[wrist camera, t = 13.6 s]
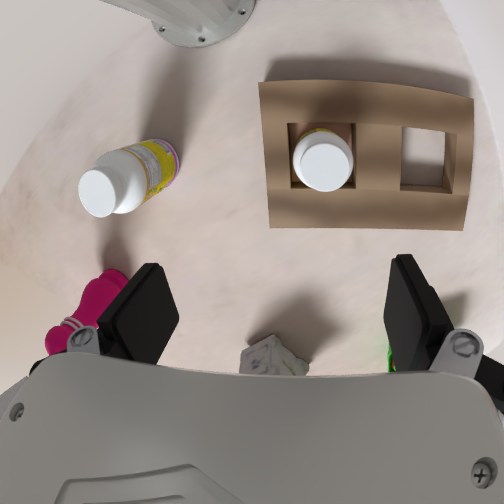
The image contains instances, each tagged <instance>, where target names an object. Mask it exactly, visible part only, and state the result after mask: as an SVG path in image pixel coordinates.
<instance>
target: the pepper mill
mask: <svg viewBox="0 0 504 504" xmlns="http://www.w3.org/2000/svg"><path fill="white" fill-rule="evenodd" d="M128 282H129V281H128V279H127V278H126V277H125V276H124V275H123V274H122V273H120V272H119V271H117V270H114V269H108V270H106V271H104V272H103V273H102V274H101V275H100V276H99V278H96V279H93V280H91V281H90V282H89V283H88V285H87V286H86V287H85V289H84V291H83V294H82V298H81V301H80V305H79V307H78V308H77V310H76V311H75V312H74V314H73V315H72V316H70V317H66V318H65V319H64V321H62V322H61V324H60V326H55V327H53V328H51V329H50V330H49V332H48V333H47V335H46V338H45V347H46V350H47V352H48V354H49V356H51V355H53V354H55V353H58V352H60V351H62V350H64V349H67V341H68V338H69V336H70V335H71V334H72V333H73V332H74V331H75V330H77V329H78V328H80V327H83V326H94V327H95V328H98V327H99V326H98V324H97V322H96V320H97V319H98V318H99V317H100V315H101V314H102V313H103V312H104V311H105V309H106V308H107V307H108V306H109V304H110V303H111V302H112V301H113V300H114V298H115V297H116V296H117V295H118V294H119V292H120V291H121V290H122V289H123V288H124V286H125V285H126V284H127V283H128ZM49 356H48V357H49Z"/></svg>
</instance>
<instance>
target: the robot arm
mask: <svg viewBox="0 0 504 504" xmlns="http://www.w3.org/2000/svg"><path fill="white" fill-rule="evenodd" d="M100 1H103V2H106V3H109V4H112V5H115V6H117V7H120V8H123V9H125V10H128V11H131V12H133V13H136V14H138V15H140V16H143V17H145V18H147V19H150V20H151V22H152V25H153V27H154V29H155V31H156V32H157V33H158V35H159V36H161V37H162V38H163V39H164V40H166V41H168V42H170V43H172V44H175V45H177V46H182V47H187V48H198V47H204V46H209V45H212V44H215V43H218V42H220V41H222V40H224V39H226V38H228V37H230V36H231V35H232V34H234V33H236V32H237V31H238V30H239V29H240V28H241V27H242V26H243V25H244V24H245V22H246V21H247V20H248V18H249V17H250V15H251V13H252V11H253V8H254V4H255V0H100ZM243 12H245V14H243V15H241V14H242V13H243ZM164 30H165V31H164ZM203 39H205V41H204V42H203ZM96 322H97V324H98V326H99V328H98V329H96V328H95V327H94V326H83V327H80V328H78V329H77V330H75V331H74V332H73V333H72V334H71V335H70V336H69V338H68V341H67V349H64V350H62V351H60V352H58V353H55V354H53V355H51V356H49V357H46V358H44V359H42V360H39V361H37V362H36V363H34V365H33V366H32V368H31V370H30V373H29V377H27V376H26V377H24V378H23V379H22V380H20V381H19V382H18V383H16V384H15V385H13V386H12V387H11V388H9V389H8V390H7V391H5V392H4V393H3V394H1V395H0V504H504V365H502V364H501V363H498V362H497V361H495V360H493V359H491V358H489V357H487V356H485V355H483V350H484V346H483V342H482V340H481V338H480V337H479V336H478V335H477V334H476V333H474V332H472V331H471V330H467V329H454V327H453V325H452V323H451V321H450V319H449V317H448V315H447V313H446V311H445V309H444V307H443V305H442V303H441V301H440V299H439V297H438V295H437V293H436V291H435V290H434V288H433V287H432V286H429V284H428V282H427V280H426V279H425V277H424V275H423V273H422V271H421V270H420V268H419V266H418V264H417V263H416V261H415V259H414V258H413V256H412V255H411V254H398V255H397V256H396V258H393V259H392V261H391V269H390V277H389V284H388V290H387V297H386V303H385V308H384V324H385V328H386V331H387V335H388V339H389V343H390V348H391V352H392V356H393V361H394V365H395V370H396V372H387V373H372V374H354V375H326V376H282V375H254V374H237V373H224V372H212V371H202V370H193V369H184V368H176V367H169V366H162V365H156V364H157V362H158V360H159V358H160V356H161V354H162V352H163V351H164V349H165V347H166V345H167V343H168V341H169V339H170V337H171V335H172V333H173V332H174V330H175V328H176V326H177V324H178V322H179V314H178V311H177V308H176V305H175V302H174V299H173V297H172V294H171V291H170V288H169V285H168V282H167V279H166V276H165V272H164V269H163V267H162V266H160V265H159V264H158V263H145V264H144V265H143V266H142V267H141V268H140V269H139V270H138V271H137V273H136V274H135V275H134V276H133V277H132V278H131V279H130V281H129V282H128V283H127V284H126V285H125V286H124V288H123V289H122V290H121V291H120V292H119V294H118V295H117V296H116V297H115V298H114V300H113V301H112V302H111V303H110V304H109V306H108V307H107V308H106V309H105V311H104V312H103V313H102V314H101V315H100V317H99V318H98V319H97V320H96Z"/></svg>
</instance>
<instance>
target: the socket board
mask: <svg viewBox="0 0 504 504" xmlns="http://www.w3.org/2000/svg"><path fill="white" fill-rule="evenodd" d="M258 86H259V97H260V108H261V119H262V131H263V143H264V156H265V168H266V182H267V195H268V209H269V224H270V228H375V229H421V230H452V231H463V227H464V221H465V216H466V210H467V204H468V197H469V189H470V181H471V171H472V159H473V141H474V101H473V99H472V98H468V97H464V96H459V95H455V94H451V93H446V92H441V91H436V90H431V89H425V88H419V87H412V86H406V85H398V84H389V83H379V82H368V81H352V80H285V81H268V82H258ZM288 123H289V126H288ZM402 126H403V127H412V128H421V129H428V130H435V131H442V132H445V156H444V171H443V182H442V187H437V186H424V185H410V184H400V179H401V157H402ZM313 128H326V129H329V130H331V131H333V132H334V133H336V134H337V135H338V136H339V137H341V138H342V139H343V140H344V141H345V142H346V143H347V145H348V146H349V148H350V150H351V152H352V155H353V169H352V172H351V175H350V176H349V178H348V179H347V181H346V182H345V183H344V184H343V185H342V186H341V187H340V188H338V189H336V190H334V191H329V192H322V191H318V190H315V189H313V188H311V187H309V186H307V185H306V184H304V183H303V182H302V181H301V180H300V179H299V177H298V176H297V174H296V172H295V169H294V165H293V155H294V151H295V147H296V145H297V142H298V140H299V138H300V137H301V136H302V135H303V134H304V133H305V132H306V131H308V130H310V129H313ZM289 130H290V141H289ZM351 130H352V142H351ZM290 145H291V157H290ZM291 162H292V176H291Z"/></svg>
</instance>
